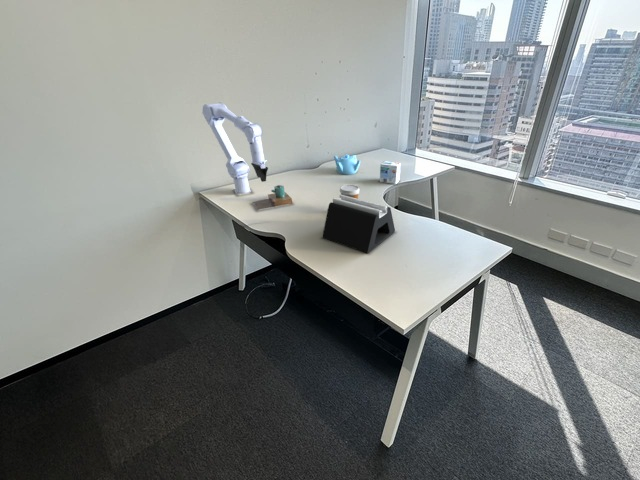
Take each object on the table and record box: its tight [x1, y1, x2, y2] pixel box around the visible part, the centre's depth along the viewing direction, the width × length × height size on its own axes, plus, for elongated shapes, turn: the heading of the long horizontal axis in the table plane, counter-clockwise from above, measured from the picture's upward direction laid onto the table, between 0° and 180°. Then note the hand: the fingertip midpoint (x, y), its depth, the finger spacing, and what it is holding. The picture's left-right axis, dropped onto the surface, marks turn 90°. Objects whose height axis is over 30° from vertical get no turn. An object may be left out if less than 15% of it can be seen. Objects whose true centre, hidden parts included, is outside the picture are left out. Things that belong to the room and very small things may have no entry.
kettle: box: [270, 184, 286, 198], centre depth 166 cm, size 7×5×5 cm
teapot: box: [333, 153, 362, 176], centre depth 209 cm, size 15×15×11 cm
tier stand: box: [251, 191, 293, 211], centre depth 166 cm, size 11×18×3 cm, turn 120°
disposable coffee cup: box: [339, 184, 361, 199], centre depth 158 cm, size 10×10×12 cm
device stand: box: [322, 194, 396, 254], centre depth 137 cm, size 22×22×15 cm
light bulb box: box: [379, 160, 401, 185], centre depth 195 cm, size 11×7×11 cm, turn 68°
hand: (261, 179), depth 167 cm, fingers open, 7 cm apart
